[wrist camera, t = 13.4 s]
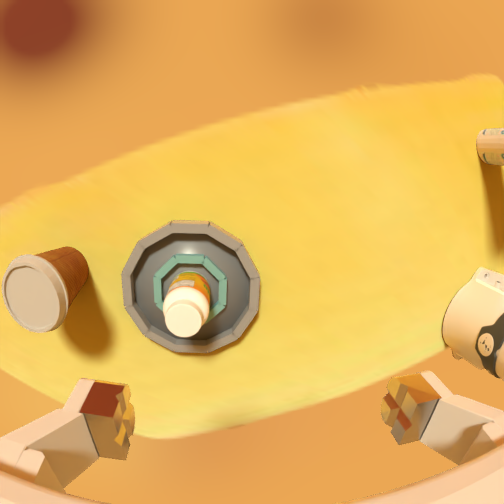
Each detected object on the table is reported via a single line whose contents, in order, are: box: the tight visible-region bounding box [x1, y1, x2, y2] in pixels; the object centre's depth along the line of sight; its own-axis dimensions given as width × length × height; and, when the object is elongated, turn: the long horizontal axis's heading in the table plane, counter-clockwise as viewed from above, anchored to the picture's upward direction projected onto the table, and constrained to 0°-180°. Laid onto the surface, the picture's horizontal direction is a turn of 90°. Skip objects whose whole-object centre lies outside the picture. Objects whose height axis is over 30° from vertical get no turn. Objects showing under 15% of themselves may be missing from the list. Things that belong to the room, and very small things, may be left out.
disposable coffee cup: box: [2, 247, 88, 333], centre depth 35 cm, size 10×10×12 cm
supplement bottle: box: [163, 271, 210, 337], centre depth 38 cm, size 5×5×10 cm
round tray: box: [122, 220, 260, 353], centre depth 42 cm, size 18×18×2 cm
